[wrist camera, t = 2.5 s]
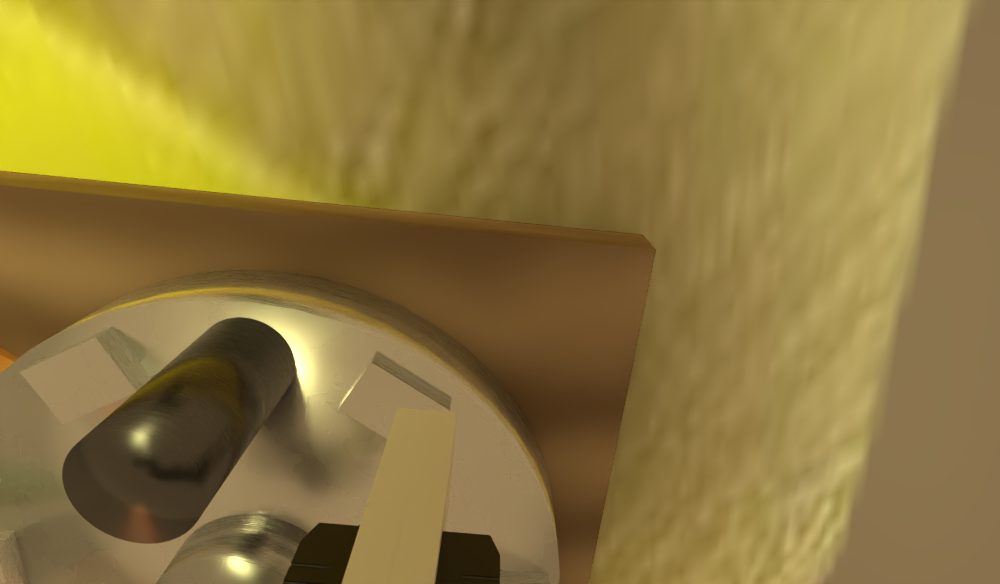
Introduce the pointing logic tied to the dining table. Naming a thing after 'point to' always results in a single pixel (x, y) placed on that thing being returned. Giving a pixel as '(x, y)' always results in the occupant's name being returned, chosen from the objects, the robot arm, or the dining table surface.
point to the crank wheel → (244, 434)
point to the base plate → (379, 270)
